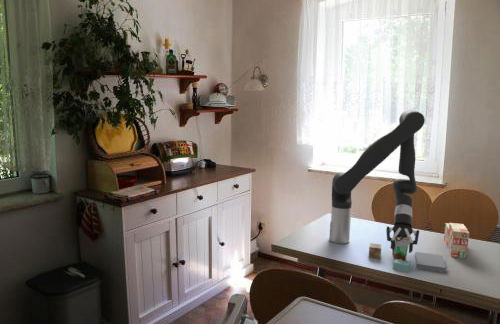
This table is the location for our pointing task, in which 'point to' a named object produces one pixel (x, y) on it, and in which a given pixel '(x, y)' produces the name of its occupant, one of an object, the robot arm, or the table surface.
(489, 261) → the table surface
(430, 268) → the slate board
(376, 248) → the walnut block
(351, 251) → the table surface
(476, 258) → the table surface
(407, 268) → the teal block
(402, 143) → the robot arm
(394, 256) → the food container
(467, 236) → the stack of blocks
